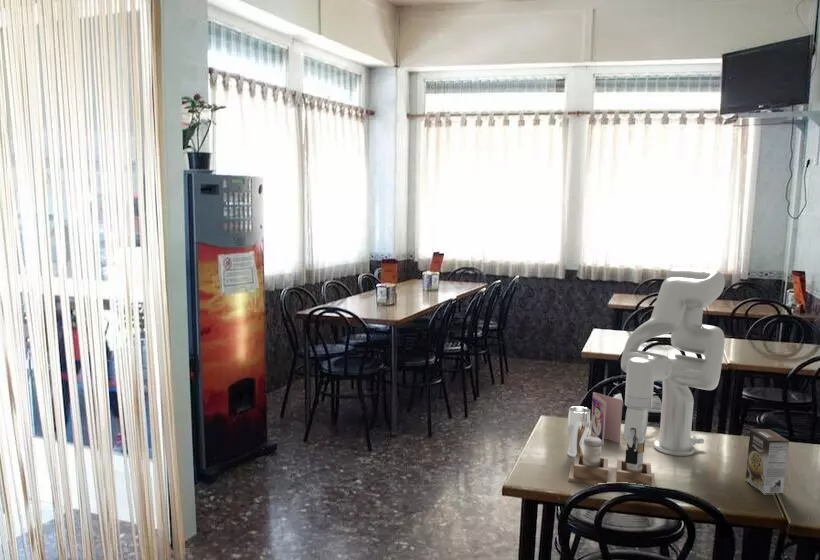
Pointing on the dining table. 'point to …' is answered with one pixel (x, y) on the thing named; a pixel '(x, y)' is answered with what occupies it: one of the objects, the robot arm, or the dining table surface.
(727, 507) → the dining table surface
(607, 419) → the greeting card
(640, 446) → the sprinkles bottle
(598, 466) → the condiment rack
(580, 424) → the silver metal can
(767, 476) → the coffee box
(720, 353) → the robot arm
